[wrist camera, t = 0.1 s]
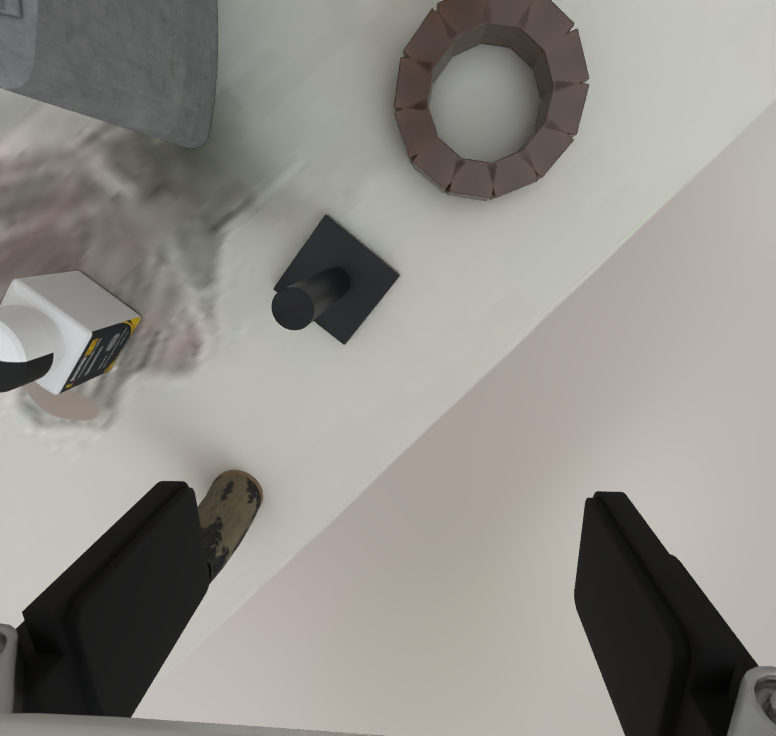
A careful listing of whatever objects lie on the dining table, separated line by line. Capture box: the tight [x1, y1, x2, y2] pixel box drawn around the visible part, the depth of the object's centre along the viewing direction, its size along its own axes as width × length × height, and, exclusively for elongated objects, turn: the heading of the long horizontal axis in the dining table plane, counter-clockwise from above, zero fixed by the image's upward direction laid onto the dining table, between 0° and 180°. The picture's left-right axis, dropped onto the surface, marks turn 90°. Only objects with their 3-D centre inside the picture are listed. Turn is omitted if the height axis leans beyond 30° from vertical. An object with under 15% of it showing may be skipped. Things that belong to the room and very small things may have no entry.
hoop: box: [394, 0, 589, 201], centre depth 33 cm, size 13×13×4 cm
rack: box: [272, 215, 400, 345], centre depth 34 cm, size 8×8×14 cm
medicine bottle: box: [0, 271, 141, 394], centre depth 38 cm, size 7×7×12 cm
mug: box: [197, 470, 263, 584], centre depth 42 cm, size 8×6×12 cm
